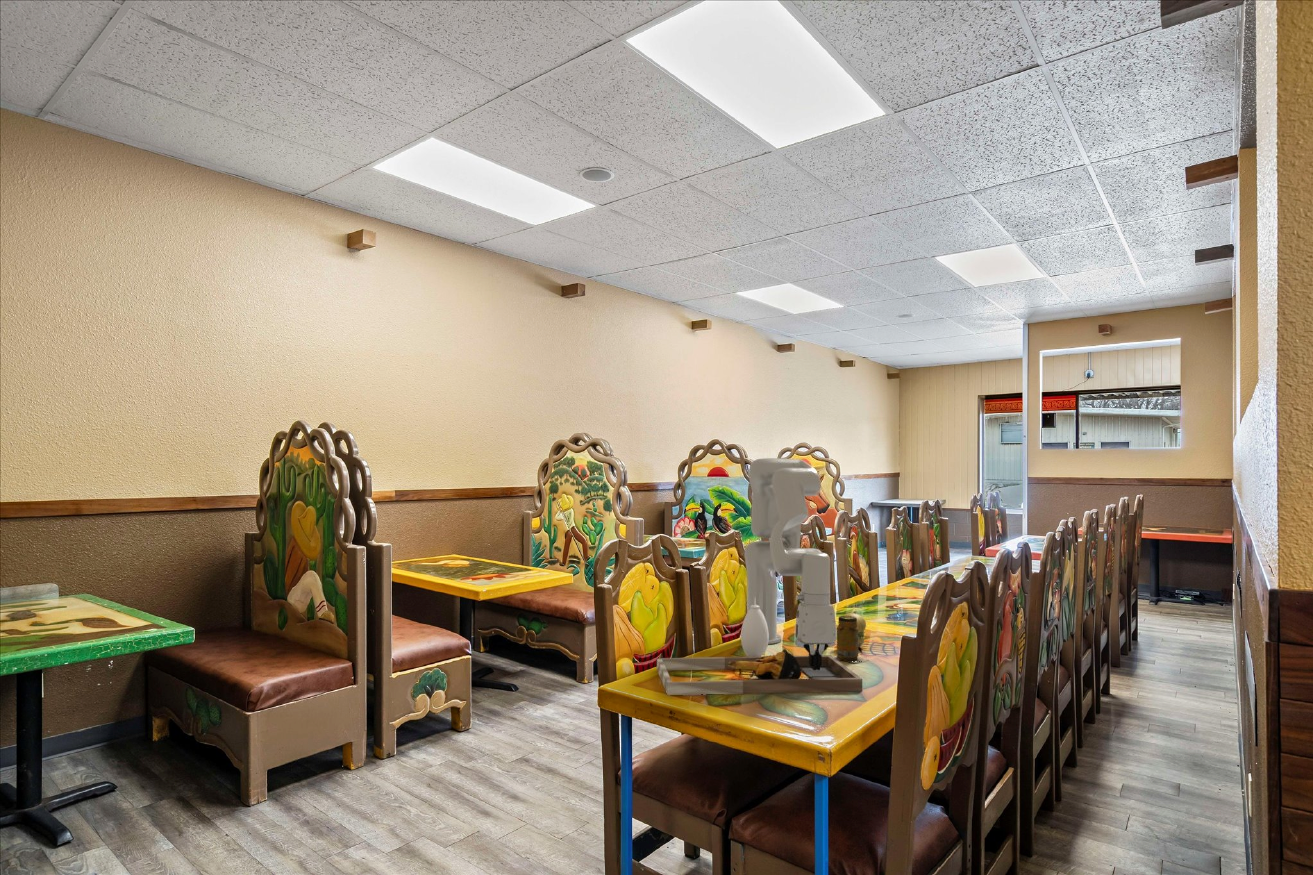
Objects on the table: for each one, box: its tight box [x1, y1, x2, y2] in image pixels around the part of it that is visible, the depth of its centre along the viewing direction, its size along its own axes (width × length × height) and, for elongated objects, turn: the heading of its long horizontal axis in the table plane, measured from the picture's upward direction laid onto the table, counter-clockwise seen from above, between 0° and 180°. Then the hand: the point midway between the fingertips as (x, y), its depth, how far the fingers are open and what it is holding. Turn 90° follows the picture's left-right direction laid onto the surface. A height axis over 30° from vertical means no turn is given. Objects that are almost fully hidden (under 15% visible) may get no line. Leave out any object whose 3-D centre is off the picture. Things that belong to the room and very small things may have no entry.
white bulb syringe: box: [740, 597, 769, 657], centre depth 210 cm, size 8×8×18 cm
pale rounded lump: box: [843, 610, 867, 647], centre depth 224 cm, size 8×7×12 cm
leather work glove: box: [728, 648, 802, 680], centre depth 189 cm, size 9×11×18 cm
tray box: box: [656, 654, 863, 696], centre depth 189 cm, size 22×49×3 cm, turn 97°
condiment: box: [832, 615, 869, 664], centre depth 211 cm, size 7×8×12 cm
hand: (815, 668), depth 191 cm, fingers closed
